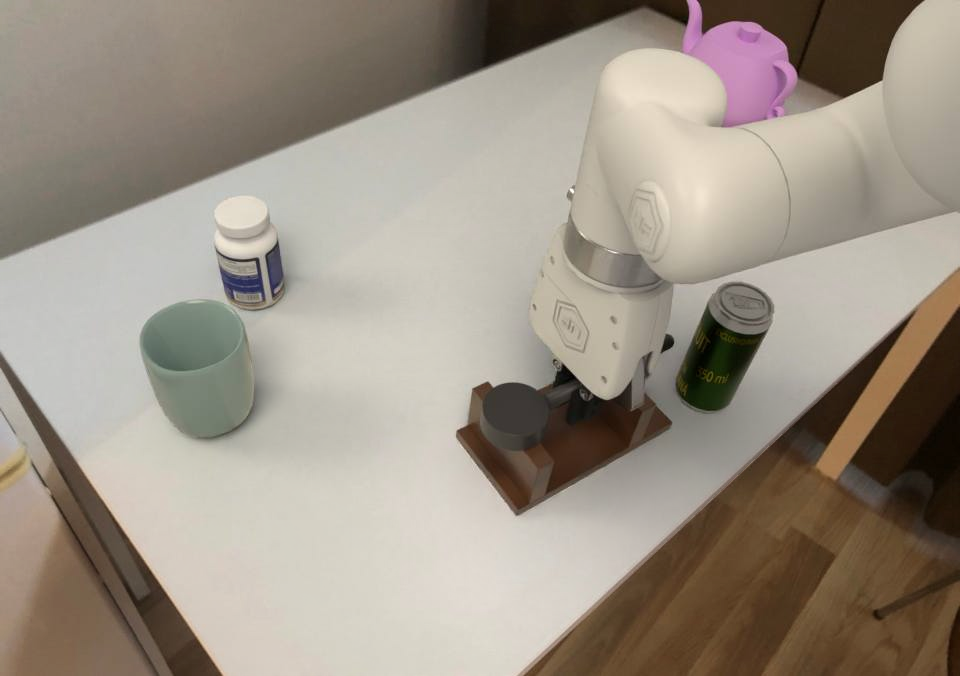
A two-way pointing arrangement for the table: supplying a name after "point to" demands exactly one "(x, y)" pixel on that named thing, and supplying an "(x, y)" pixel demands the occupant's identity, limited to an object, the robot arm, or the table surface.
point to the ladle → (525, 411)
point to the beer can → (724, 346)
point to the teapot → (743, 66)
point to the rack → (558, 448)
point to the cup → (199, 366)
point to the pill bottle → (248, 253)
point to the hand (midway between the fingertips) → (573, 407)
